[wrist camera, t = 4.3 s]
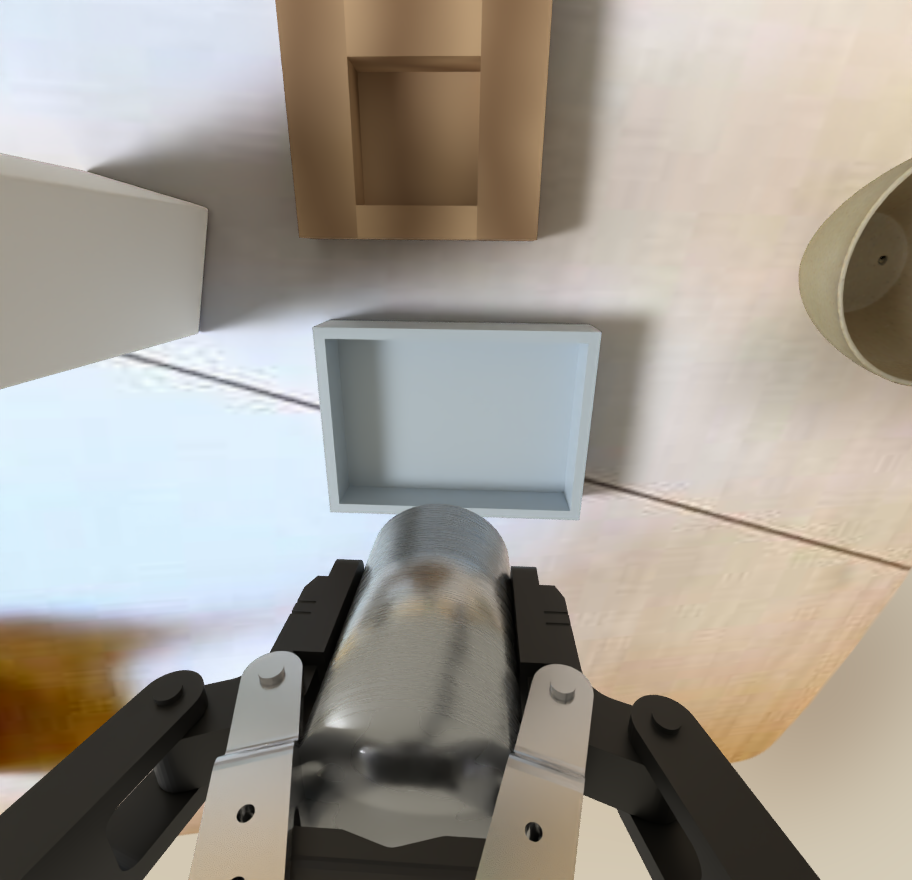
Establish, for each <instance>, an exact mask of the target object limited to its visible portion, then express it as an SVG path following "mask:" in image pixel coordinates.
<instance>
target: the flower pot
mask: <svg viewBox="0 0 912 880" xmlns="http://www.w3.org/2000/svg"><path fill="white" fill-rule="evenodd" d="M881 256H885V257H884V258H883V259H880V257H881ZM799 289H800V294H801V298H802V301H803V304H804V306H805V309H806V311H807V313H808V315H809V316H810V318H811V320H812V322H813V323H814V325H815V326H816V327H817V329H818V330H819V331H820V333H821V334H822V335H823V336H824V337H825V338H826V339H827V340H828V341H829V342H830V343H831V344H832V345H833V346H834V347H835V348H836V349H837V350H839V351H840V352H841V353H842V354H844V355H845V356H846V357H848V358H849V359H851V360H852V361H853V362H855V363H856V364H858V365H860V366H861V367H863V368H865V369H866V370H868V371H870V372H872V373H874V374H876V375H878V376H880V377H882V378H884V379H887V380H889V381H891V382H894V383H898V384H902V385H907V386H912V158H911V159H909V160H907V161H905V162H903V163H902V164H900V165H898V166H896V167H895V168H893V169H891V170H889V171H888V172H886V173H884V174H883V175H881V176H880V177H878V178H877V179H875V180H873V181H872V182H870V183H869V184H867V185H866V186H865V187H863V188H862V189H861V190H859V191H858V192H857V193H855V194H854V195H853V196H852V197H850V198H849V199H848V200H847V201H846V202H844V203H843V204H842V205H841V206H840V207H839V208H838V209H837V210H836V211H835V212H834V213H833V214H832V215H831V216H830V217H829V218H828V219H827V220H826V221H825V222H824V223H823V224H822V226H821V227H820V228H819V229H818V231H817V232H816V233H815V235H814V236H813V238H812V239H811V241H810V243H809V244H808V246H807V248H806V250H805V252H804V255H803V258H802V260H801V264H800V269H799Z"/></svg>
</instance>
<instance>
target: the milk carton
mask: <svg viewBox="0 0 912 880" xmlns="http://www.w3.org/2000/svg"><path fill="white" fill-rule="evenodd" d="M207 220H208V209H207V208H205V207H203V206H200V205H197V204H193V203H190V202H187V201H183V200H180V199H177V198H173V197H170V196H167V195H163V194H160V193H157V192H153V191H150V190H147V189H144V188H140V187H137V186H134V185H130V184H127V183H124V182H120V181H117V180H114V179H110V178H107V177H104V176H100V175H97V174H94V173H90V172H87V171H83V170H78V169H73V168H69V167H64V166H59V165H55V164H50V163H45V162H40V161H36V160H31V159H26V158H21V157H17V156H12V155H7V154H2V153H0V389H3V388H7V387H10V386H14V385H17V384H21V383H24V382H28V381H31V380H35V379H39V378H42V377H46V376H49V375H53V374H56V373H60V372H63V371H67V370H71V369H74V368H78V367H81V366H85V365H88V364H92V363H95V362H99V361H103V360H106V359H110V358H113V357H117V356H120V355H124V354H127V353H131V352H134V351H138V350H142V349H145V348H149V347H152V346H156V345H159V344H163V343H166V342H170V341H174V340H177V339H181V338H184V337H188V336H191V335H195V334H198V332H199V320H200V307H201V295H202V283H203V270H204V258H205V245H206V233H207Z"/></svg>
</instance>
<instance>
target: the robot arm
mask: <svg viewBox="0 0 912 880" xmlns="http://www.w3.org/2000/svg"><path fill="white" fill-rule="evenodd" d="M363 572H364V564H363V561H362V560H345V559H337V560H336V561H335V563H334V565H333V568H332V570H331V572H330V574H329V576H317V577H316V578H315V579H313V580H312V581H311V582H310V583H309V584H308V585H306V586H305V587H304V589H303V591H302V593H301V595H300V597H299V599H298V602H297V603H296V604H295V606H294V608H293V610H292V614H290V616H289V617H288V619H287V621H286V623H285V625H284V627H283V629H282V631H281V632H280V634H279V636H278V638H277V640H276V642H275V644H274V646H273V648H272V649H271V651H270V653H268V654H265V655H263V656H261V657H259V658H257V659H256V660H254V661H253V662H252V663H251V664H250V665H249V666H248V667H247V668H246V669H245V670H244V672H243V674H242V676H240V677H238V678H234V679H230V680H226V681H221V682H217V683H212V684H208V685H204V682H203V679H202V677H201V676H200V675H199V674H198V673H196V672H194V671H189V670H182V671H175V672H172V673H169V674H166V675H164V676H162V677H160V678H158V679H156V680H155V681H153V682H152V683H150V684H149V685H148V686H147V687H145V688H144V689H143V690H142V691H141V692H140V693H139V694H137V695H136V696H135V697H134V698H133V699H132V700H131V701H129V702H128V703H127V704H126V705H125V706H124V707H123V708H122V709H120V710H119V711H118V712H117V713H116V714H115V715H114V716H112V717H111V718H110V719H109V720H108V721H107V722H106V723H104V724H103V725H102V726H101V727H100V728H99V729H98V730H97V731H95V732H94V733H93V734H92V735H91V736H90V737H89V738H87V739H86V740H85V741H84V742H83V743H82V744H81V745H79V746H78V747H77V748H76V749H75V750H74V751H73V752H72V753H70V754H69V755H68V756H67V757H66V758H65V759H64V760H62V761H61V762H60V763H59V764H58V765H57V766H56V767H54V768H53V769H52V770H51V771H50V772H49V773H48V774H47V775H45V776H44V777H43V778H42V779H41V780H40V781H39V782H37V783H36V784H35V785H34V786H33V787H32V788H31V789H30V790H28V791H27V792H26V793H25V794H24V795H23V796H22V797H20V798H19V799H18V800H17V801H16V802H15V803H14V804H12V805H11V806H10V807H9V808H8V809H7V810H6V811H5V812H3V813H2V814H1V815H0V880H143V879H144V878H145V876H146V875H147V874H148V872H149V871H150V870H151V869H152V867H153V866H154V865H155V863H156V862H157V861H158V860H159V859H160V857H161V856H162V855H163V854H164V852H165V851H166V850H167V848H168V847H169V846H170V845H171V843H172V842H173V841H174V839H175V838H176V837H177V836H178V835H179V833H180V832H181V831H182V830H183V828H184V827H185V826H186V825H187V823H188V822H189V821H190V819H191V818H192V817H193V816H194V814H195V813H196V812H197V811H198V809H199V808H200V807H201V806H202V804H203V803H204V802H205V801H206V802H205V807H204V811H203V816H202V820H201V825H200V829H199V834H198V838H197V843H196V848H195V853H194V857H193V861H192V866H191V870H190V875H189V879H188V880H574V872H575V863H576V854H577V846H578V836H579V827H580V819H581V810H582V802H583V795H585V796H588V797H590V798H592V799H595V800H597V801H600V802H602V803H605V804H607V805H609V806H612V807H614V808H617V810H618V813H619V815H620V817H621V819H622V821H623V823H624V825H625V827H626V828H627V831H628V832H629V834H630V836H631V839H632V841H633V842H634V844H635V846H636V848H637V850H638V852H639V854H640V856H641V858H642V860H643V862H644V864H645V866H646V868H647V870H648V872H649V874H650V876H651V878H652V880H820V879H819V877H818V876H817V875H816V873H815V872H814V871H813V870H812V868H811V867H810V866H809V865H808V863H807V862H806V860H805V859H804V858H803V857H802V855H801V854H800V853H799V851H798V850H797V849H796V848H795V846H794V845H793V844H792V843H791V841H790V840H789V839H788V837H787V836H786V835H785V833H784V832H783V831H782V830H781V828H780V827H779V826H778V824H777V823H776V822H775V821H774V819H773V818H772V817H771V815H770V814H769V813H768V812H767V810H766V809H765V808H764V806H763V805H762V804H761V803H760V801H759V800H758V799H757V798H756V796H755V795H754V794H753V792H752V791H751V790H750V789H749V787H748V786H747V785H746V783H745V782H744V781H743V779H742V778H741V777H740V775H739V774H738V773H737V772H736V770H735V769H734V768H733V767H732V765H731V764H730V763H729V761H728V760H727V759H726V757H725V756H724V755H723V754H722V752H721V751H720V750H719V748H718V747H717V746H716V745H715V743H714V742H713V741H712V739H711V738H710V737H709V736H708V734H707V733H706V732H705V730H704V729H703V728H702V727H701V725H700V724H699V723H698V721H697V720H696V719H695V718H694V716H693V715H692V714H691V713H690V712H689V711H688V710H687V709H686V708H685V707H684V706H682V705H681V704H679V703H678V702H676V701H674V700H672V699H670V698H667V697H664V696H659V695H647V696H643V697H641V698H639V699H638V700H637V701H636V702H635V703H634V705H633V706H632V705H629V704H626V703H623V702H620V701H617V700H614V699H611V698H609V697H607V696H605V695H603V694H601V693H600V692H598V691H597V690H596V689H594V688H593V687H592V686H591V683H590V682H589V680H588V679H587V678H586V677H585V676H584V675H583V673H582V670H581V666H580V662H579V658H578V653H577V649H576V645H575V641H574V636H573V632H572V628H571V625H570V619H569V615H568V611H567V606H566V602H565V598H564V597H563V596H562V594H561V593H560V592H559V591H558V589H557V588H556V587H555V586H550V585H539V581H538V575H537V569H536V567H519V566H511V571H510V584H511V596H512V608H513V621H514V633H515V645H516V657H517V670H518V682H519V689H520V698H521V710H522V722H521V726H520V730H519V734H518V738H517V741H516V745H515V749H514V752H511V753H510V755H509V757H508V761H507V764H506V768H505V771H504V775H503V779H502V782H501V786H500V790H499V794H498V797H497V801H496V805H495V808H494V812H493V816H492V820H491V823H490V827H489V831H488V834H487V838H472V837H457V836H441V837H437V838H432V839H428V840H424V841H420V842H415V843H411V844H407V845H403V846H398V847H393V848H392V847H386V846H383V845H381V844H378V843H376V842H373V841H371V840H368V839H366V838H363V837H361V836H358V835H356V834H353V833H351V832H348V831H346V830H343V829H333V828H318V827H312V826H311V820H310V814H309V812H308V809H307V803H306V797H305V791H304V785H303V779H302V767H301V759H300V753H299V746H300V742H301V738H302V735H303V732H304V730H305V727H306V724H307V722H308V719H309V716H310V714H311V711H312V708H313V706H314V703H315V700H316V698H317V695H318V692H319V689H320V687H321V684H322V681H323V679H324V676H325V673H326V671H327V668H328V665H329V663H330V660H331V657H332V655H333V652H334V649H335V647H336V644H337V641H338V639H339V636H340V633H341V631H342V628H343V625H344V623H345V620H346V617H347V615H348V612H349V609H350V607H351V604H352V601H353V598H354V596H355V593H356V590H357V588H358V585H359V582H360V580H361V577H362V574H363ZM152 769H153V770H152ZM151 770H152V771H151ZM150 771H151V772H150ZM145 777H146V778H145ZM144 778H145V779H144ZM143 779H144V780H143ZM142 780H143V781H142ZM141 781H142V782H141ZM140 782H141V783H140ZM139 783H140V784H139ZM138 784H139V785H138ZM137 785H138V786H137ZM136 786H137V787H136ZM135 787H136V788H135ZM134 788H135V789H134ZM129 794H130V795H129ZM128 795H129V796H128ZM127 796H128V797H127ZM126 797H127V798H126ZM125 798H126V799H125ZM124 799H125V800H124ZM123 800H124V801H123ZM122 801H123V802H122ZM121 802H122V803H121ZM120 803H121V804H120ZM119 804H120V805H119Z"/></svg>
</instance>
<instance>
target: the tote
mask: <svg viewBox="0 0 912 880" xmlns="http://www.w3.org/2000/svg"><path fill="white" fill-rule="evenodd" d="M312 329H313V339H314V349H315V359H316V370H317V380H318V390H319V400H320V411H321V421H322V431H323V441H324V452H325V462H326V472H327V482H328V493H329V503H330V512H343V513H373V514H399V513H401V512H403V511H405V510H407V509H410V508H412V507H416V506H420V505H426V504H449V505H454V506H459V507H462V508H465V509H468V510H470V511H472V512H474V513H476V514H478V515H479V516H481V517H496V518H526V519H557V520H579V519H580V510H581V502H582V494H583V485H584V477H585V468H586V460H587V451H588V443H589V435H590V426H591V418H592V409H593V401H594V393H595V384H596V376H597V367H598V359H599V351H600V342H601V334H602V332H601V331H599V330H598V329H596V328H595V327H593V326H591V325H590V324H547V323H486V322H425V321H364V320H328V321H325V322H323V323H321V324H319V325H316V326H314V327H312Z"/></svg>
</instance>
